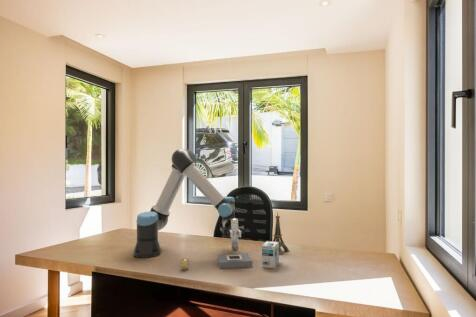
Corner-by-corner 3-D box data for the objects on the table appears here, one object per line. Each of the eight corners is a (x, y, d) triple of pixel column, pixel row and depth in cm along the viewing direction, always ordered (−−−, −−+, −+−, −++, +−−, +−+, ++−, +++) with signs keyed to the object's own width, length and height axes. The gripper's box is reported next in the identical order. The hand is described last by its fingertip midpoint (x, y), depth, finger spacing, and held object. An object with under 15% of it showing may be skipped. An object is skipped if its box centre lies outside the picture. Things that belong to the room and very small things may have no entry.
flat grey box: (220, 268, 155) (219, 262, 155) (217, 260, 169) (217, 254, 169) (252, 267, 157) (252, 260, 158) (247, 258, 171) (247, 252, 171)
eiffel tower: (281, 255, 178) (281, 210, 178) (265, 252, 184) (265, 209, 184) (290, 251, 186) (290, 208, 187) (274, 248, 192) (274, 207, 193)
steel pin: (232, 251, 161) (231, 219, 162) (231, 249, 165) (230, 218, 165) (239, 250, 162) (238, 219, 162) (238, 249, 165) (237, 218, 166)
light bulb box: (275, 268, 155) (274, 246, 155) (261, 267, 157) (261, 245, 157) (279, 262, 165) (279, 241, 165) (266, 261, 167) (266, 240, 167)
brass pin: (181, 271, 152) (180, 260, 152) (181, 268, 155) (181, 258, 156) (188, 270, 152) (188, 260, 152) (188, 268, 156) (188, 258, 156)
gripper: (245, 232, 182) (252, 241, 159) (216, 233, 180) (219, 243, 157) (244, 218, 183) (252, 226, 159) (216, 220, 180) (219, 228, 157)
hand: (236, 234), depth 158 cm, fingers closed on steel pin, 3 cm apart
